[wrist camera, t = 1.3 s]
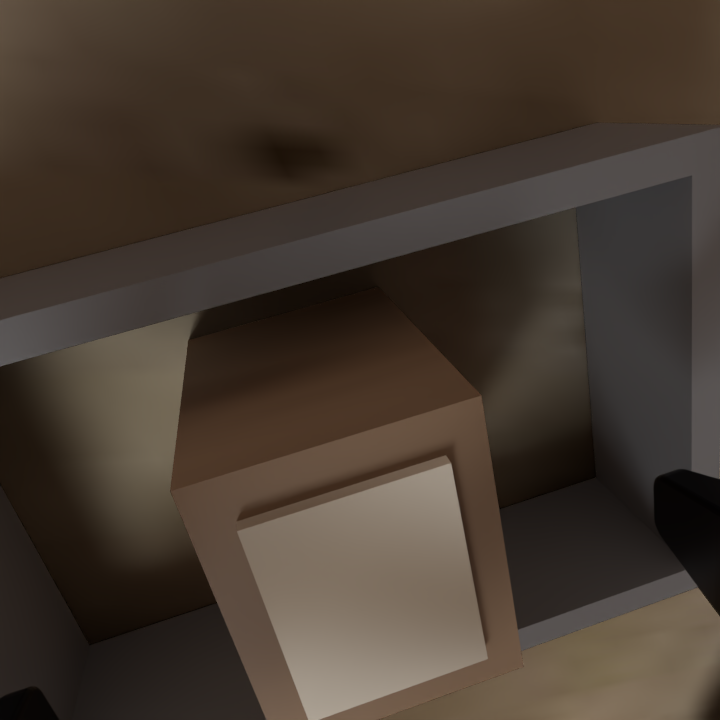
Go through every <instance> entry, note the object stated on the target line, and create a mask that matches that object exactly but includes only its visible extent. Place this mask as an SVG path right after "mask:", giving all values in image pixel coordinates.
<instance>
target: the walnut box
mask: <svg viewBox="0 0 720 720" xmlns="http://www.w3.org/2000/svg"><path fill="white" fill-rule="evenodd" d="M170 492H171V494H172V497H173V499H174V501H175V504H176V506H177V508H178V511H179V513H180V516H181V518H182V520H183V523H184V525H185V527H186V530H187V532H188V535H189V537H190V539H191V542H192V544H193V546H194V549H195V551H196V554H197V556H198V558H199V561H200V563H201V566H202V568H203V570H204V573H205V575H206V577H207V580H208V582H209V585H210V587H211V589H212V592H213V594H214V596H215V599H216V601H217V604H218V606H219V608H220V611H221V613H222V615H223V618H224V620H225V623H226V625H227V627H228V630H229V632H230V634H231V637H232V639H233V642H234V644H235V646H236V649H237V651H238V653H239V656H240V658H241V661H242V663H243V665H244V668H245V670H246V673H247V675H248V677H249V680H250V682H251V684H252V687H253V689H254V692H255V694H256V696H257V699H258V701H259V703H260V706H261V708H262V711H263V713H264V715H265V718H266V720H379V719H381V718H384V717H387V716H390V715H392V714H395V713H398V712H401V711H403V710H406V709H409V708H412V707H414V706H417V705H420V704H423V703H425V702H428V701H431V700H434V699H436V698H439V697H442V696H445V695H447V694H450V693H453V692H456V691H458V690H461V689H464V688H467V687H469V686H472V685H475V684H478V683H480V682H483V681H486V680H489V679H491V678H494V677H497V676H500V675H502V674H505V673H508V672H511V671H513V670H516V669H519V668H522V667H524V666H523V660H522V653H521V647H520V641H519V634H518V628H517V621H516V615H515V608H514V602H513V595H512V589H511V583H510V576H509V570H508V563H507V557H506V550H505V544H504V538H503V531H502V525H501V518H500V512H499V505H498V499H497V492H496V486H495V480H494V473H493V467H492V460H491V454H490V447H489V441H488V435H487V428H486V422H485V415H484V409H483V402H482V396H481V395H480V393H479V392H478V391H477V390H476V389H475V388H474V387H473V386H472V385H471V384H470V383H469V382H468V381H467V380H466V379H465V378H464V377H463V376H462V374H461V373H460V372H459V371H458V370H457V369H456V368H455V367H454V366H453V365H452V364H451V363H450V362H449V361H448V360H447V359H446V358H445V357H444V356H443V354H442V353H441V352H440V351H439V350H438V349H437V348H436V347H435V346H434V345H433V344H432V343H431V342H430V341H429V340H428V339H427V338H426V337H425V335H424V334H423V333H422V332H421V331H420V330H419V329H418V328H417V327H416V326H415V325H414V324H413V323H412V322H411V321H410V320H409V319H408V318H407V317H406V315H405V314H404V313H403V312H402V311H401V310H400V309H399V308H398V307H397V306H396V305H395V304H394V303H393V302H392V301H391V300H390V299H389V298H388V297H387V295H386V294H385V293H384V292H383V291H382V290H381V289H380V288H379V287H376V288H372V289H369V290H365V291H362V292H358V293H355V294H351V295H347V296H344V297H340V298H337V299H333V300H330V301H326V302H322V303H319V304H315V305H312V306H308V307H305V308H301V309H298V310H294V311H290V312H287V313H283V314H280V315H276V316H273V317H269V318H266V319H262V320H258V321H255V322H251V323H248V324H244V325H241V326H237V327H234V328H230V329H226V330H223V331H219V332H216V333H212V334H209V335H205V336H202V337H198V338H194V339H191V340H188V348H187V356H186V365H185V373H184V381H183V390H182V398H181V406H180V415H179V423H178V431H177V440H176V448H175V456H174V464H173V473H172V481H171V489H170Z"/></svg>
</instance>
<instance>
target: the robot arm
mask: <svg viewBox="0 0 720 720" xmlns="http://www.w3.org/2000/svg"><path fill="white" fill-rule="evenodd" d="M653 496H654V521H655V525H656V528H657V531H658V532H659V534H660V536H661V537H662V539H663V540H664V542H665V543H666V544H667V546H668V547H669V548H670V550H671V551H672V552H673V554H674V555H675V557H676V558H677V559H678V561H679V562H680V563H681V565H682V566H683V567H684V569H685V570H686V571H687V573H688V574H689V576H690V577H691V578H692V580H693V581H694V582H695V584H696V585H697V586H698V588H699V589H700V590H701V592H702V593H703V595H704V596H705V597H706V599H707V600H708V601H709V603H710V604H711V605H712V607H713V608H714V609H715V611H716V612H717V613H718V615H719V616H720V479H718V478H714V477H711V476H707V475H704V474H700V473H697V472H693V471H690V470H686V469H676V470H673V471H670V472H667V473H664V474H661V475H659V476H657V477H656V478H655V480H654V483H653ZM0 720H59V718H58V716H57V715H56V713H55V712H54V710H53V708H52V707H51V705H50V704H49V702H48V700H47V699H46V697H45V696H44V694H43V692H42V691H41V690H40V689H39V688H37V687H35V686H30V687H27V688H24V689H21V690H18V691H15V692H12V693H9V694H6V695H4V696H2V697H1V698H0Z"/></svg>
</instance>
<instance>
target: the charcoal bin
mask: <svg viewBox="0 0 720 720" xmlns="http://www.w3.org/2000/svg"><path fill="white" fill-rule="evenodd" d="M575 207H576V215H577V229H578V242H579V256H580V269H581V283H582V296H583V309H584V323H585V336H586V350H587V363H588V377H589V390H590V404H591V417H592V431H593V444H594V458H595V471H596V478H593V479H590V480H587V481H584V482H581V483H578V484H575V485H572V486H569V487H566V488H563V489H560V490H557V491H554V492H551V493H548V494H545V495H542V496H539V497H536V498H532V499H529V500H526V501H523V502H520V503H517V504H514V505H511V506H508V507H505V508H502V509H499V512H500V518H501V525H502V531H503V538H504V544H505V550H506V557H507V563H508V570H509V576H510V583H511V589H512V595H513V602H514V608H515V615H516V621H517V628H518V634H519V641H520V647H521V651H523V650H525V649H528V648H531V647H534V646H536V645H539V644H542V643H545V642H548V641H550V640H553V639H556V638H559V637H561V636H564V635H567V634H570V633H572V632H575V631H578V630H581V629H584V628H586V627H589V626H592V625H595V624H597V623H600V622H603V621H606V620H608V619H611V618H614V617H617V616H620V615H622V614H625V613H628V612H631V611H633V610H636V609H639V608H642V607H644V606H647V605H650V604H653V603H656V602H658V601H661V600H664V599H667V598H669V597H672V596H675V595H678V594H680V593H683V592H686V591H689V590H692V589H694V588H697V587H698V586H697V585H696V584H695V582H694V581H693V580H692V578H691V577H690V576H689V574H688V573H687V571H686V570H685V569H684V567H683V566H682V565H681V563H680V562H679V561H678V559H677V558H676V557H675V555H674V554H673V552H672V551H671V550H670V548H669V547H668V546H667V544H666V543H665V542H664V540H663V539H662V537H661V536H660V534H659V532H658V531H657V528H656V525H655V521H654V496H653V483H654V480H655V478H656V477H657V476H659V475H661V474H664V473H667V472H670V471H673V470H676V469H686V470H690V471H693V472H697V473H700V474H704V475H707V476H711V477H714V478H718V479H719V467H720V125H696V124H639V123H595V124H591V125H587V126H583V127H579V128H575V129H571V130H568V131H564V132H560V133H556V134H552V135H548V136H545V137H541V138H537V139H533V140H529V141H525V142H522V143H518V144H514V145H510V146H506V147H502V148H499V149H495V150H491V151H487V152H483V153H479V154H476V155H472V156H468V157H464V158H460V159H456V160H453V161H449V162H445V163H441V164H437V165H433V166H430V167H426V168H422V169H418V170H414V171H410V172H406V173H403V174H399V175H395V176H391V177H387V178H383V179H380V180H376V181H372V182H368V183H364V184H360V185H357V186H353V187H349V188H345V189H341V190H337V191H334V192H330V193H326V194H322V195H318V196H314V197H311V198H307V199H303V200H299V201H295V202H291V203H288V204H284V205H280V206H276V207H272V208H268V209H265V210H261V211H257V212H253V213H249V214H245V215H241V216H238V217H234V218H230V219H226V220H222V221H218V222H215V223H211V224H207V225H203V226H199V227H195V228H192V229H188V230H184V231H180V232H176V233H172V234H169V235H165V236H161V237H157V238H153V239H149V240H146V241H142V242H138V243H134V244H130V245H126V246H123V247H119V248H115V249H111V250H107V251H103V252H100V253H96V254H92V255H88V256H84V257H80V258H76V259H73V260H69V261H65V262H61V263H57V264H53V265H50V266H46V267H42V268H38V269H34V270H30V271H27V272H23V273H19V274H15V275H11V276H7V277H4V278H0V366H3V365H7V364H11V363H14V362H18V361H22V360H25V359H29V358H32V357H36V356H40V355H43V354H47V353H51V352H54V351H58V350H61V349H65V348H69V347H72V346H76V345H79V344H83V343H87V342H90V341H94V340H98V339H101V338H105V337H108V336H112V335H116V334H119V333H123V332H126V331H130V330H134V329H137V328H141V327H145V326H148V325H152V324H155V323H159V322H163V321H166V320H170V319H174V318H177V317H181V316H184V315H188V314H192V313H195V312H199V311H202V310H206V309H210V308H213V307H217V306H221V305H224V304H228V303H231V302H235V301H239V300H242V299H246V298H250V297H253V296H257V295H260V294H264V293H268V292H271V291H275V290H278V289H282V288H286V287H289V286H293V285H297V284H300V283H304V282H307V281H311V280H315V279H318V278H322V277H325V276H329V275H333V274H336V273H340V272H344V271H347V270H351V269H354V268H358V267H362V266H365V265H369V264H373V263H376V262H380V261H383V260H387V259H391V258H394V257H398V256H401V255H405V254H409V253H412V252H416V251H420V250H423V249H427V248H430V247H434V246H438V245H441V244H445V243H449V242H452V241H456V240H459V239H463V238H467V237H470V236H474V235H477V234H481V233H485V232H488V231H492V230H496V229H499V228H503V227H506V226H510V225H514V224H517V223H521V222H524V221H528V220H532V219H535V218H539V217H543V216H546V215H550V214H553V213H557V212H561V211H564V210H568V209H572V208H575ZM30 686H35V687H37V688H39V689H40V690H41V691H42V692H43V694H44V696H45V697H46V699H47V700H48V702H49V704H50V705H51V707H52V708H53V710H54V712H55V713H56V715H57V716H58V718H59V720H266V718H265V715H264V713H263V711H262V708H261V706H260V703H259V701H258V699H257V696H256V694H255V692H254V689H253V687H252V684H251V682H250V680H249V677H248V675H247V673H246V670H245V668H244V665H243V663H242V661H241V658H240V656H239V653H238V651H237V649H236V646H235V644H234V642H233V639H232V637H231V634H230V632H229V630H228V627H227V625H226V623H225V620H224V618H223V615H222V613H221V611H220V608H219V606H218V604H217V603H216V604H213V605H210V606H207V607H204V608H201V609H198V610H195V611H192V612H189V613H186V614H183V615H180V616H177V617H174V618H171V619H168V620H165V621H162V622H159V623H156V624H153V625H150V626H147V627H144V628H141V629H138V630H135V631H132V632H129V633H125V634H122V635H119V636H116V637H113V638H110V639H107V640H104V641H101V642H98V643H95V644H92V645H89V644H88V642H87V640H86V638H85V636H84V635H83V633H82V631H81V629H80V627H79V626H78V624H77V622H76V620H75V618H74V617H73V615H72V613H71V611H70V609H69V608H68V606H67V604H66V602H65V600H64V599H63V597H62V595H61V593H60V591H59V590H58V588H57V586H56V584H55V582H54V581H53V579H52V577H51V575H50V573H49V572H48V570H47V568H46V566H45V564H44V563H43V561H42V559H41V557H40V555H39V554H38V552H37V550H36V548H35V546H34V545H33V543H32V541H31V539H30V537H29V536H28V534H27V532H26V530H25V528H24V527H23V525H22V523H21V521H20V519H19V518H18V516H17V514H16V512H15V510H14V509H13V507H12V505H11V503H10V501H9V500H8V498H7V496H6V494H5V492H4V491H3V489H2V487H1V485H0V698H1V697H2V696H4V695H6V694H9V693H12V692H15V691H18V690H21V689H24V688H27V687H30Z"/></svg>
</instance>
